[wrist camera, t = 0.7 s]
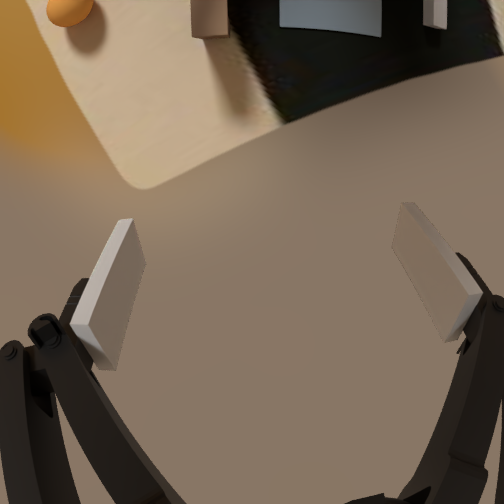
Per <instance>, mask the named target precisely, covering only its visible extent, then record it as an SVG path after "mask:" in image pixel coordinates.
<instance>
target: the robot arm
mask: <svg viewBox="0 0 504 504" xmlns="http://www.w3.org/2000/svg"><path fill="white" fill-rule="evenodd" d="M392 249H393V251H394V252H395V254H396V256H397V257H398V259H399V261H400V262H401V264H402V266H403V267H404V269H405V271H406V273H407V274H408V276H409V278H410V280H411V282H412V283H413V285H414V287H415V289H416V290H417V292H418V294H419V296H420V298H421V300H422V302H423V304H424V305H425V307H426V309H427V311H428V313H429V315H430V317H431V319H432V321H433V323H434V325H435V327H436V329H437V331H438V332H439V335H440V337H441V339H442V341H443V343H446V342H450V341H454V340H457V339H458V338H459V336H460V334H461V333H462V331H464V333H465V335H466V338H465V340H464V341H463V343H462V344H461V346H460V348H459V349H458V351H457V354H459V352H460V351H461V352H460V356H459V360H458V363H457V367H456V370H455V373H454V377H453V380H452V383H451V386H450V389H449V392H448V395H447V398H446V401H445V403H444V406H443V409H442V412H441V414H440V417H439V420H438V422H437V425H436V427H435V430H434V432H433V435H432V437H431V439H430V441H429V444H428V446H427V448H426V451H425V453H424V455H423V457H422V459H421V461H420V464H419V466H418V468H417V470H416V472H415V474H414V476H413V477H412V479H411V480H410V481H409V483H408V484H407V485H406V486H405V487H404V489H403V490H402V492H401V493H400V495H399V497H398V498H397V499H396V498H387V497H385V496H384V493H381V494H378V495H374V496H369V497H365V498H361V499H357V500H352V501H350V502H348V503H345V504H478V503H479V500H480V498H481V495H482V493H483V490H484V487H485V485H486V482H487V478H488V471H487V470H486V469H485V468H484V464H485V460H486V457H487V454H488V450H489V447H490V444H491V440H492V437H493V433H494V429H495V425H496V421H497V417H498V413H499V408H500V403H501V399H502V432H501V451H500V463H499V472H498V481H497V489H496V496H495V504H504V298H503V297H501V296H499V295H492V293H491V291H490V290H489V288H488V287H487V286H486V284H485V283H484V281H483V280H482V278H481V277H480V276H479V275H478V274H477V272H476V270H475V269H474V268H473V266H472V265H471V263H470V262H469V261H468V259H466V258H465V257H464V256H463V255H461V254H460V253H455V252H454V251H453V250H452V249H451V247H450V246H449V245H448V243H447V242H446V241H445V239H444V238H443V237H442V236H441V234H440V233H439V232H438V231H437V229H436V228H435V227H434V226H433V224H432V223H431V222H430V221H429V220H428V219H427V217H426V216H425V215H424V214H423V212H421V210H420V209H419V208H418V207H417V205H416V204H415V203H401V207H400V212H399V217H398V221H397V226H396V231H395V235H394V239H393V244H392ZM145 265H146V262H145V258H144V255H143V251H142V248H141V245H140V241H139V238H138V234H137V230H136V227H135V223H134V220H133V218H132V219H123V220H119V221H118V223H117V225H116V226H115V228H114V230H113V232H112V234H111V236H110V238H109V240H108V242H107V244H106V246H105V248H104V250H103V251H102V254H101V256H100V258H99V260H98V262H97V264H96V266H95V268H94V270H93V272H92V274H91V276H90V278H82V279H81V280H80V281H79V282H78V283H77V284H76V285H75V286H74V288H73V290H72V292H71V295H70V297H69V299H68V301H67V305H65V307H64V310H63V312H62V314H61V316H60V318H59V321H58V319H57V318H56V316H55V315H53V314H50V313H47V314H42V315H40V316H38V317H37V318H36V319H34V320H33V321H32V323H31V324H30V326H29V328H28V336H29V337H30V339H31V340H32V342H33V343H34V344H35V345H33V346H30V347H25V348H24V346H23V345H22V344H21V343H20V342H19V341H16V340H13V341H9V342H8V343H6V344H5V345H4V346H3V347H2V348H1V350H0V451H1V460H2V467H3V474H4V480H5V485H6V491H7V496H8V501H9V504H81V503H80V500H79V497H78V494H77V490H76V487H75V484H74V480H73V477H72V473H71V469H70V466H69V462H68V458H67V454H66V449H65V445H64V440H63V436H62V431H61V426H60V421H59V416H58V410H57V404H56V397H55V394H56V396H57V398H58V400H59V403H60V405H61V407H62V409H63V411H64V414H65V416H66V418H67V420H68V422H69V424H70V426H71V428H72V430H73V432H74V434H75V436H76V438H77V440H78V442H79V444H80V446H81V447H82V449H83V451H84V453H85V455H86V457H87V458H88V460H89V462H90V464H91V465H92V467H93V469H94V470H95V472H96V474H97V475H98V477H99V479H100V480H101V482H102V484H103V485H104V486H105V488H106V490H107V491H108V493H109V494H110V496H111V497H112V499H113V500H114V502H115V503H116V504H186V503H185V502H184V500H183V499H182V498H181V497H180V496H179V495H178V494H177V492H176V491H175V490H174V489H173V488H172V486H171V485H170V484H169V483H168V482H167V480H166V479H165V478H164V477H163V475H162V474H161V473H160V472H159V470H158V469H157V468H156V467H155V465H154V464H153V463H152V461H151V460H150V459H149V457H148V456H147V455H146V453H145V452H144V451H143V449H142V448H141V447H140V445H139V444H138V442H137V441H136V440H135V438H134V437H133V435H132V434H131V433H130V431H129V429H128V428H127V427H126V425H125V424H124V422H123V420H122V419H121V417H120V416H119V415H118V413H117V411H116V410H115V408H114V407H113V405H112V403H111V402H110V400H109V398H108V397H107V395H106V394H105V392H104V390H103V389H102V387H101V385H100V383H99V382H98V380H97V378H96V377H95V375H94V373H93V372H92V370H91V368H92V365H93V361H94V363H95V364H96V366H97V367H98V368H99V370H114V371H116V368H117V364H118V360H119V356H120V352H121V348H122V344H123V340H124V337H125V333H126V329H127V325H128V322H129V318H130V315H131V311H132V308H133V304H134V301H135V298H136V294H137V291H138V288H139V284H140V281H141V278H142V275H143V272H144V268H145Z"/></svg>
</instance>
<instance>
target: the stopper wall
mask: <svg viewBox="0 0 504 504" xmlns="http://www.w3.org/2000/svg"><path fill="white" fill-rule="evenodd" d="M423 25H425V26H429V27H432V28H436V29H447V0H423Z"/></svg>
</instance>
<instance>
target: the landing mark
mask: <svg viewBox="0 0 504 504" xmlns="http://www.w3.org/2000/svg"><path fill="white" fill-rule="evenodd" d="M381 16H382V0H280V27H296V28H312V29H324V30H334V31H343V32H351V33H358V34H365V35H371V36H377V37H381Z"/></svg>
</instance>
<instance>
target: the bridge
mask: <svg viewBox="0 0 504 504" xmlns="http://www.w3.org/2000/svg"><path fill="white" fill-rule="evenodd" d="M191 28H192V37H194V38H199V39H212V38H229V37H230V23H229V18H228V13H227V0H191Z"/></svg>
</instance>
